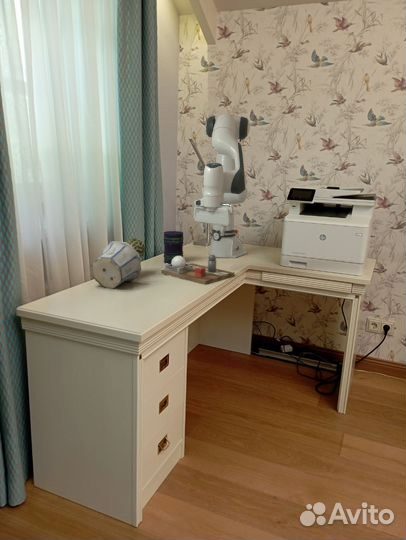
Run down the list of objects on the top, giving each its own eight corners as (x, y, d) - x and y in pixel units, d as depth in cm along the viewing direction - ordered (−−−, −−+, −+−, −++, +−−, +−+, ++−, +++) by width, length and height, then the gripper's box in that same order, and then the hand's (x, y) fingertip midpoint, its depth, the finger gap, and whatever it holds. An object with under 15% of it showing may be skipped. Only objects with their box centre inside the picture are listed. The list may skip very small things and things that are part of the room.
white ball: (178, 267, 195) (178, 253, 194) (188, 270, 191) (188, 255, 190) (168, 269, 191) (168, 255, 189) (178, 272, 187) (178, 258, 185)
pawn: (212, 270, 192) (212, 253, 190) (217, 271, 190) (218, 254, 188) (206, 271, 190) (206, 254, 188) (211, 272, 187) (212, 255, 186)
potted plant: (122, 255, 158) (155, 226, 183) (81, 254, 164) (118, 225, 189) (131, 296, 166) (161, 263, 191) (91, 293, 171) (125, 261, 197)
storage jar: (186, 263, 212) (186, 233, 208) (167, 264, 208) (167, 234, 205) (179, 259, 221) (179, 230, 217) (161, 260, 217) (160, 231, 214)
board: (191, 266, 206) (191, 256, 205) (234, 275, 189) (234, 265, 188) (161, 273, 192) (161, 263, 190) (204, 284, 175) (204, 273, 174)
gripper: (237, 203, 178) (236, 236, 182) (200, 200, 191) (200, 230, 195) (228, 204, 174) (227, 238, 177) (191, 201, 187) (191, 232, 190)
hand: (213, 234), depth 186 cm, fingers open, 8 cm apart
